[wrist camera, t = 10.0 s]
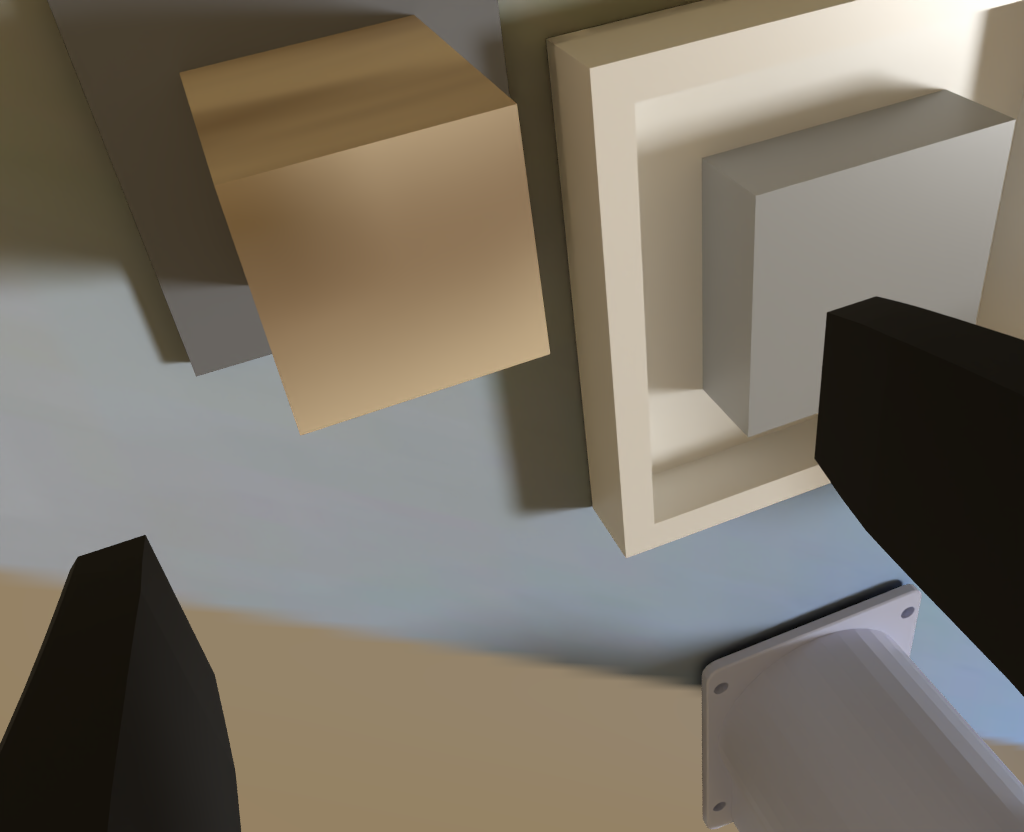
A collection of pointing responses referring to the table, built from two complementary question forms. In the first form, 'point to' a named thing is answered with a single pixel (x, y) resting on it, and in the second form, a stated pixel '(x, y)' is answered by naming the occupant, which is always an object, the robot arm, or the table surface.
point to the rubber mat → (175, 141)
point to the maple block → (374, 215)
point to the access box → (770, 225)
